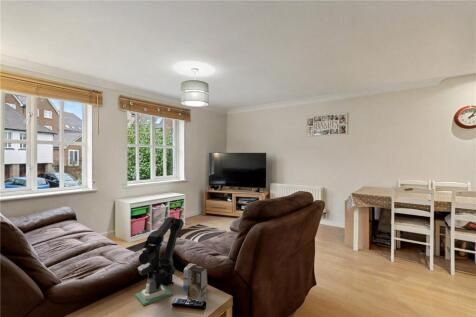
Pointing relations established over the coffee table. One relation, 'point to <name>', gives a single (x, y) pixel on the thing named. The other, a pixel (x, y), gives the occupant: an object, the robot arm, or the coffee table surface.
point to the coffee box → (197, 283)
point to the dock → (153, 295)
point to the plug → (151, 286)
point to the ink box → (186, 276)
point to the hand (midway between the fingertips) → (154, 285)
